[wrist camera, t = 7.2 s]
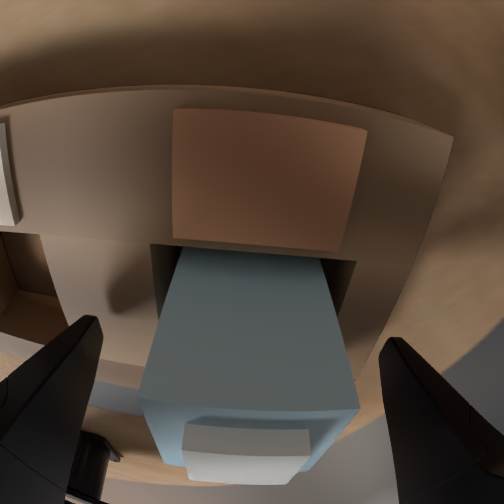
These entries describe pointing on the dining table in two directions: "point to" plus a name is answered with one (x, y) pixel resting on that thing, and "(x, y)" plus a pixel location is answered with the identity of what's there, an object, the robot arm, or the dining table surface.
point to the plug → (247, 368)
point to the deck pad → (115, 398)
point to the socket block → (206, 204)
